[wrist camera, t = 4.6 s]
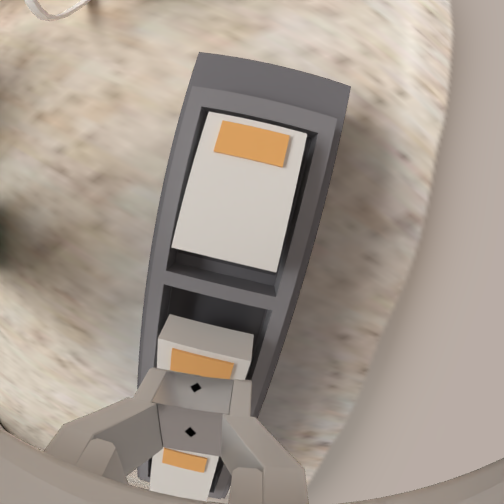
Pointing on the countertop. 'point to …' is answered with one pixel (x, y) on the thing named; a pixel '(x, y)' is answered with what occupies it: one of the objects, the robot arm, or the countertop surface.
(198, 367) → the rocker
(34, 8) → the cup
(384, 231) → the countertop surface
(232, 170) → the rocker
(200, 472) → the block
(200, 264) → the rocker switch panel
